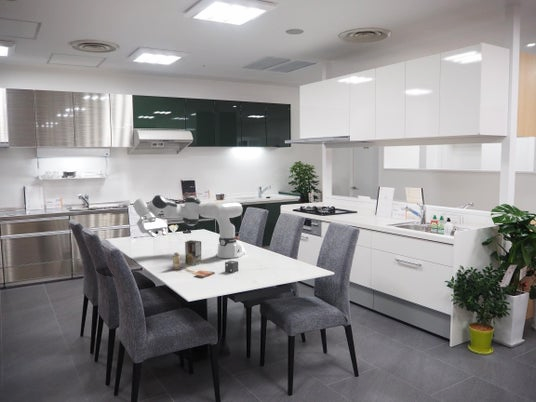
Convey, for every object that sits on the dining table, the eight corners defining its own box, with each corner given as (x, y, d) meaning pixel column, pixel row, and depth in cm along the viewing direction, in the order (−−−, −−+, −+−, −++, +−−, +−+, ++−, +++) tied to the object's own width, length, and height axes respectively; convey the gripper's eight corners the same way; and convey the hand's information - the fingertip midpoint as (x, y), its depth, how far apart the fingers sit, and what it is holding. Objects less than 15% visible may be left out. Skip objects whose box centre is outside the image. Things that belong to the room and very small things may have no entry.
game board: (176, 267, 295) (176, 265, 294) (214, 273, 280) (214, 271, 280) (164, 271, 284) (164, 270, 284) (202, 278, 270) (202, 276, 270)
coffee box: (202, 265, 302) (201, 241, 301) (195, 267, 297) (195, 242, 295) (191, 263, 307) (191, 239, 305) (185, 265, 301) (184, 241, 300)
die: (230, 269, 290) (230, 260, 289) (238, 270, 287) (238, 261, 287) (225, 271, 285) (224, 262, 284) (233, 273, 282) (233, 263, 281)
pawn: (176, 267, 290) (176, 251, 289) (181, 268, 288) (181, 252, 287) (171, 269, 286) (171, 252, 285) (177, 270, 284) (176, 253, 283)
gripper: (158, 220, 308) (168, 236, 303) (134, 224, 291) (144, 240, 286) (163, 215, 305) (173, 230, 300) (139, 217, 288) (149, 234, 283)
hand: (159, 235), depth 293 cm, fingers open, 8 cm apart
